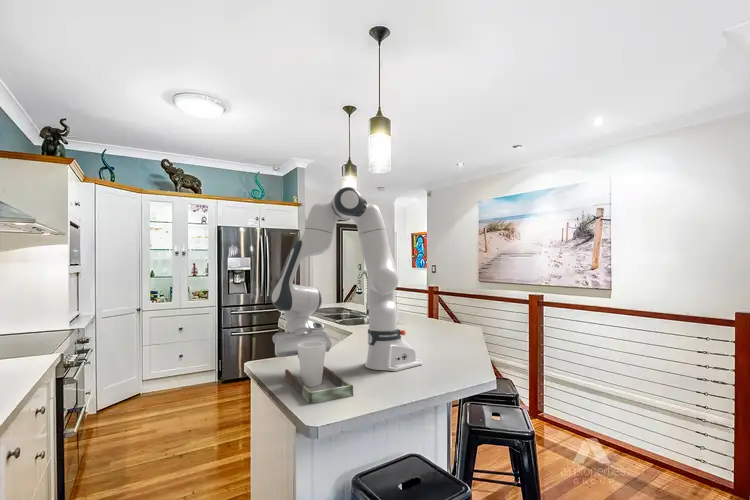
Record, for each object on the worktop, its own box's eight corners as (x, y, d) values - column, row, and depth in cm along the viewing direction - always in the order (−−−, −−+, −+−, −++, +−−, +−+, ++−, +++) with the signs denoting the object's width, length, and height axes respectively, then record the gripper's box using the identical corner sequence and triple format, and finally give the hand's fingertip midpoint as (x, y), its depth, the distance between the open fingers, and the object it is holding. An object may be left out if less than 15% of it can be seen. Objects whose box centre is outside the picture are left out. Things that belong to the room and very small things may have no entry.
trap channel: (321, 372, 139) (321, 364, 139) (353, 395, 114) (353, 385, 114) (285, 378, 132) (285, 369, 132) (309, 403, 107) (309, 393, 108)
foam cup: (327, 386, 123) (327, 346, 123) (298, 389, 120) (298, 348, 121) (324, 378, 132) (323, 340, 132) (297, 380, 130) (297, 342, 130)
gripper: (272, 328, 134) (279, 362, 124) (327, 323, 143) (337, 355, 134) (270, 338, 137) (276, 372, 128) (323, 333, 147) (332, 364, 138)
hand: (307, 363), depth 131 cm, fingers closed, pressing on foam cup
